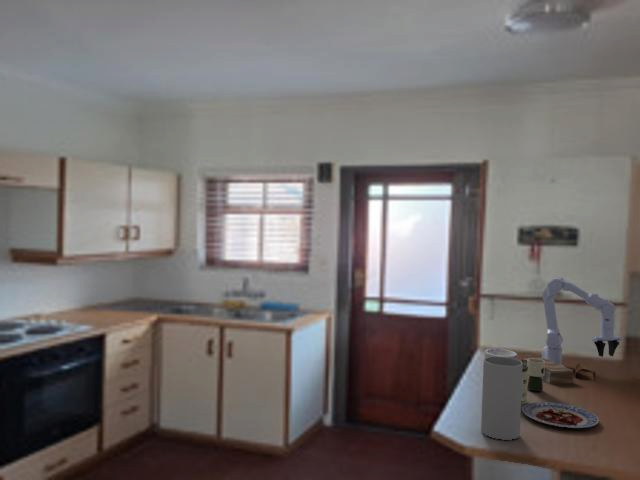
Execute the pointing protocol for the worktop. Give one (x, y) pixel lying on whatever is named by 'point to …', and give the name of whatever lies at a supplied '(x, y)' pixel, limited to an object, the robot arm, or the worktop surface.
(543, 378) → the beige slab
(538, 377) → the character mug
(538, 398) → the worktop surface
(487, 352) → the paper bowls
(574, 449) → the worktop surface
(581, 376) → the sunglasses case
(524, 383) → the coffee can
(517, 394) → the cylinder vase
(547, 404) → the ceramic plate
